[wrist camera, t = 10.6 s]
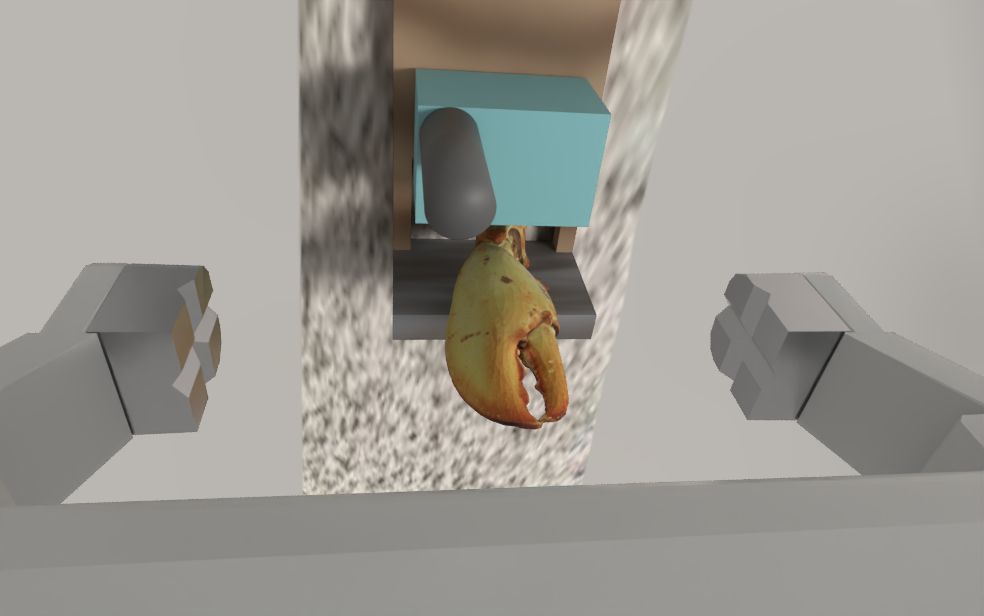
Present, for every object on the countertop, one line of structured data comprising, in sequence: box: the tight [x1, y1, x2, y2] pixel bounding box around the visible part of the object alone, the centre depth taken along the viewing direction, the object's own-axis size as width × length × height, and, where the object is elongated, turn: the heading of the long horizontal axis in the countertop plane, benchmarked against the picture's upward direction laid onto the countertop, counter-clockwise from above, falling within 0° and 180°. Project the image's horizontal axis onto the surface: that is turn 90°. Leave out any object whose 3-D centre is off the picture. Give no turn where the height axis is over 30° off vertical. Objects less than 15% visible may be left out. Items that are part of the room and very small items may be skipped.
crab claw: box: [445, 225, 569, 429], centre depth 39 cm, size 7×5×20 cm
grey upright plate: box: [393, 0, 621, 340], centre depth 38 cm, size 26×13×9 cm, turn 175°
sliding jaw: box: [413, 69, 611, 240], centre depth 36 cm, size 7×10×14 cm
